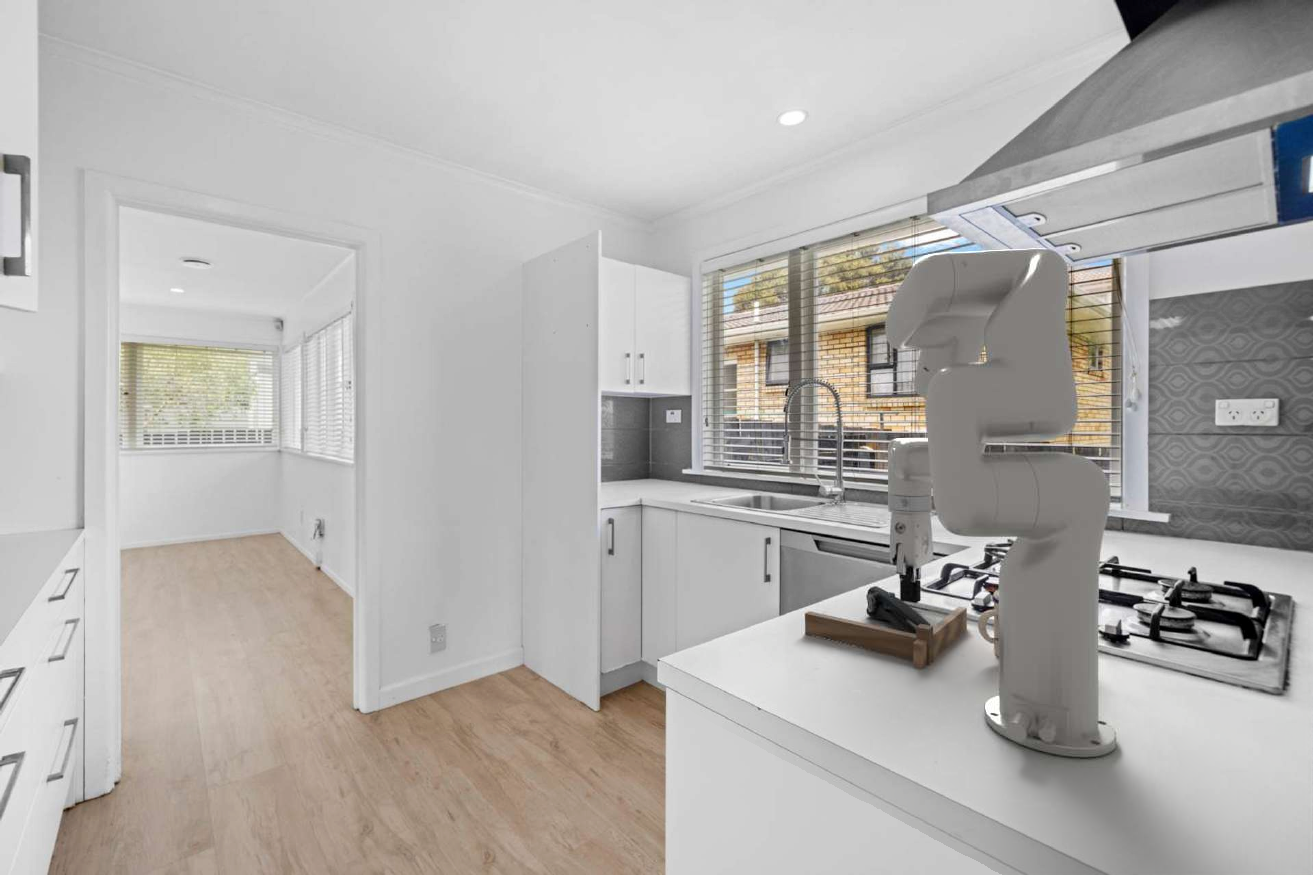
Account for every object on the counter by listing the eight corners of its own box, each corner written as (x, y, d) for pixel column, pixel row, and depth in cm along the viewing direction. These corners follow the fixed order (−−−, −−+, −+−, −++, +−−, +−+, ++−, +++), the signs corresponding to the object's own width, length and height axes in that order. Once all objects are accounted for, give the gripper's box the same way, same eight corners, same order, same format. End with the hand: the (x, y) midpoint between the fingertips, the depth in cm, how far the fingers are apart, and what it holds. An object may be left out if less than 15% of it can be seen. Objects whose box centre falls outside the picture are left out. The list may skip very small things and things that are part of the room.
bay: (924, 669, 85) (924, 633, 85) (798, 637, 99) (798, 606, 99) (968, 628, 102) (968, 598, 101) (855, 606, 115) (855, 579, 115)
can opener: (857, 613, 111) (856, 583, 111) (893, 611, 112) (892, 581, 112) (904, 648, 94) (904, 613, 94) (947, 646, 94) (947, 611, 94)
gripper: (916, 510, 104) (916, 615, 105) (943, 501, 115) (944, 595, 116) (873, 506, 109) (874, 606, 110) (903, 498, 121) (904, 589, 121)
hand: (910, 600), depth 113 cm, fingers closed
